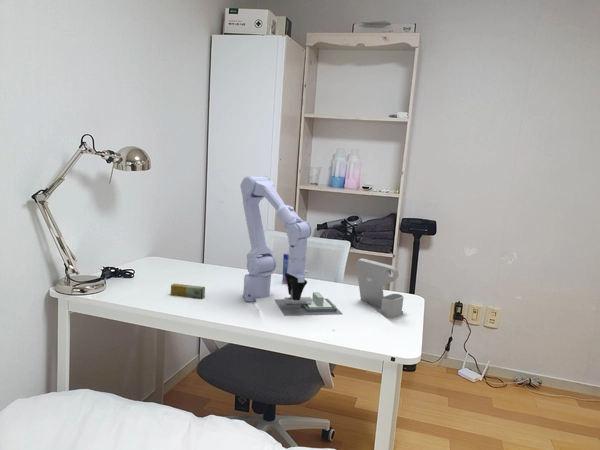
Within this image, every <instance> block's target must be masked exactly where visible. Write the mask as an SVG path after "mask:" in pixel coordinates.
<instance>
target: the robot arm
mask: <svg viewBox="0 0 600 450" xmlns="http://www.w3.org/2000/svg"><path fill="white" fill-rule="evenodd" d="M274 184H275V183H274V181H272V179H271V178H270V177H269V176H266V175H264V176H252V175H245V177H243V178H242V181H241V182H240V184H239V185H240V191H241V196H242V205H243V209H244V215H245V221H246V225H247V232H248V237H249V242H250V243H249V244H250V251H249V252H248V253H247V254H246V269H247V272H248V273H246V274H244V278H243V294H242V295H243V298H244V300H245V302H257V300H256V298H261V299H263V298H268V297H270V294H271V280H272V275H273V273H274V271H275V270H276V268H277V259H276V258H275V256H274V254H273V250H272V249H270V248H269V246H268V245H267V242H266V237H265V232H264V227H263V226H264V225H263V221H262V216H261V210H260V205H259V204H260V203H261V201H262V200H263V199H264V198H265V199H266V201H268V203H270V205H271V206H272V207H273V208H274V209H275V210H276V216H277V219H278V220H279V221H280V222H281V224H282V225H283V226H284V228H285V229H286V236H287V239H288V241H287V242H288V245H289V246H288V253H289V258H288V269H287V273H285V274H284V275H285V277H286V280H287V283H286V284H287V285H286V286H287V290H288V295H290V296H291V289H292V296H293V300H300V297H302V293H303V291H304V289H305V287H306V285H307V284H308V281H307V280H306V279H305V277H306V275H307V274H309V271H308V270H307V269H306V265H305V260H307V246H308V245H307V244H308V239H309V238H310V237H311V235H312V227H311V225H310V222H308V221H305V220H303V219H302V218H301V217H300V216H299V215H298V213H296V211H295V207H293V206H291V205H290V204H289V205H288V204H287V205H286V203H285V202H284V200H283V199H282V197H280V195H279V193H278V192H277V190H276V188H275V187H274V186H275V185H274ZM304 275H305V277H304Z"/></svg>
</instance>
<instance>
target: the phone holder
mask: <svg viewBox="0 0 600 450" xmlns="http://www.w3.org/2000/svg"><path fill="white" fill-rule="evenodd" d="M355 265H356V273H357V281H358V287H359V288H358V290H359V295H360V296H359V297H360V300H362V301H365V302H366V303H367V304H369V305H370V307H372V308H373V309H374V310H375V311H377V312H378V313H379V314H381V316H383V317H384V318H385V319H389V320H390V319H393V318H396V317H399V316H401V315H403V313H404V311H403V305H404V295H402V294H400V293H391V294H388V295H384V287H383V286H385V285H388V284H390V283H393V282H394V281H396V280H397V279H398V278H399V271H398V269H397V268H396V267H395V266H394V265H391V264H386V263H383V262H379V261H376V260H370V259H366V258H362V257H361V258H359V259H358V260H357V261H355ZM389 271H391V272H392V274H393V275H391V274H390V272H389ZM367 275H369V276H370V278H371V280H368V278H367V277H366V276H367Z"/></svg>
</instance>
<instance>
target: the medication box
mask: <svg viewBox="0 0 600 450" xmlns="http://www.w3.org/2000/svg"><path fill="white" fill-rule="evenodd" d="M205 295H206V286H202V285H200V286H199V285H192V284H191V285H190V284H182V283H181V284H179V283H172V284H171V285H170V296H174V297H181V298H190V299H198V300H203V299H205V297H206V296H205Z"/></svg>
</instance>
